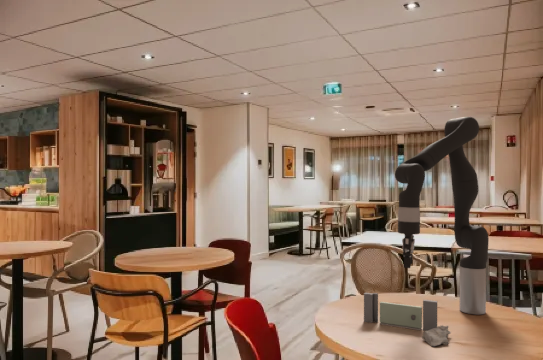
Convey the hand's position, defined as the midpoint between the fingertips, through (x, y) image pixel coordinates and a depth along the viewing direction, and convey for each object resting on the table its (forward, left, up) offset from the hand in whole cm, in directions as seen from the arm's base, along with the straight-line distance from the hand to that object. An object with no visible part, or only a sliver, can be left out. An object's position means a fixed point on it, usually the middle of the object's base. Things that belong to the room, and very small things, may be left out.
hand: (408, 265), depth 150 cm
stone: (+13, +11, -21) cm, 27 cm away
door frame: (+4, -2, -20) cm, 21 cm away
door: (+5, -2, -20) cm, 21 cm away
